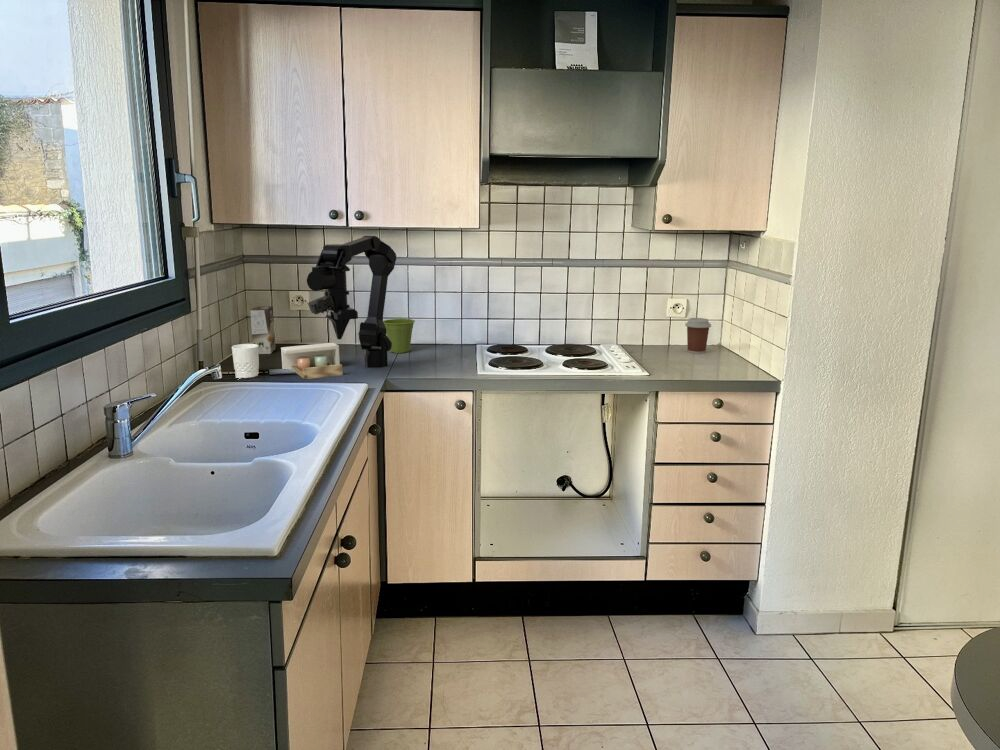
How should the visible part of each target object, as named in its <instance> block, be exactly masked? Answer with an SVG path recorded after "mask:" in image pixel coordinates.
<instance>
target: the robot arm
mask: <svg viewBox="0 0 1000 750" xmlns="http://www.w3.org/2000/svg"><path fill="white" fill-rule="evenodd" d="M322 248H323V249H322V250H321V252H320V254H319V257H318V259H317V262H316V265H315V266H311V271H310V272H309V273H308V275H307V278H306V283H307V286H308V288H309V289H310V290H311V291H312V292H313V291H314V292H319V291H324V290H325V291H324V292H323V293H324V294H323V295H324V296H321V297H318V298H316V299H313V300H311V301H309V302H307V305H308V307H309V309H310V311H311V312H310V313H311V314H314V315H319V314H320V313H321V314H324V313H325V312H327V315H325V317H326V318H327V319H328V320H329V321H331V324H332V327H333V331H334V334H335V337H336V339H337V340H342V338H343V336H344V335H345V332H346V329H347V328H348V327H347V326H348V325H349V322H350V320H356V319H357V320H358V319H359V313H358V311H357V310H356V309H355V308H352V307H350V304H348V295H350V291H349V290H348V287H347V272H350V271H351V268H350V267H349V266H348V265H346V264H348V263H349V262H351V261H352V259H353V258H354V257H355V256H358V255H361V254H363V253H364V255H365V257H366V258H367V259H368V266H369V269H370V271H371V274H372V277H371V285H370V293H369V301H368V308H367V309H368V310H367V315H366V316H367V317H366V319H365V320H364V321H363V322H360V323H359V329H358V333H357V334H358V340H359V345H360V348H361V350H363V351H365V354H364V366H365V368H369V369H373V368H375V369H377V368H379V369H380V368H385V367H388V368H390V366H389V365H388V361H389V360H388V352H390V350H391V346H392V343H391V341H390V340H389V338H388V337H387V334H386V327H385V325H384V322H383V321H384V312H385V311H384V310H385V304H386V297H387V296H386V294H387V287H388V280H389V279H388V278H389V276H390V275H391V273H392V272H393V271H394V269H395V266H396V260H397V254H396V252H395V250H394V249H392V246H390V245H389V244H387V243H385V242H384V241H383V240H381V239H380V238H379V237H378V236H376V235H363V236H362V237H360V238H356V239H355V240H351V241H347V242H344V243H341V244H335V243H334V244H333V243H332V244H325V245H324V246H323V247H322Z"/></svg>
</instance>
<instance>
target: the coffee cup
mask: <svg viewBox="0 0 1000 750" xmlns="http://www.w3.org/2000/svg"><path fill="white" fill-rule="evenodd" d="M684 325H685V327H686V334H687V335H686V336H687V338H686V339H687V342H686V343H687V344H686V345H687V352H688V353H689V354H690V353H691V354H705V353H706V350H707V344H708V338H709V331H710V328H711V327H712V323H710V322H709V319H708V318H704V317H690V318H688V321H687V322H685V324H684Z"/></svg>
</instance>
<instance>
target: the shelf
mask: <svg viewBox="0 0 1000 750" xmlns="http://www.w3.org/2000/svg"><path fill="white" fill-rule="evenodd" d="M280 350H281V353H280V354H281V367H282V369H290V370H292V369H291V366H295V365H297V358H299V357H310V364H314V363H315V361H314V356H317V355H326V356H327V362H329V363H330V364H332V365H338V364H341V363H340V346H339V344H336V343H334V342H327V343H326V342H325V343H323V342H322V343H314V344H304V345H303V344H302V345H294V346H292V345H291V346H283V347H280Z"/></svg>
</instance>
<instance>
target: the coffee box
mask: <svg viewBox="0 0 1000 750" xmlns="http://www.w3.org/2000/svg"><path fill="white" fill-rule="evenodd" d="M249 311H250V324H251V325H250V326H251V327H250V328H251V340H252V341H251V342H252V344H257V345H258V347H259V355H271V354H272V353H274V351H275V350H276V338H275V323H274V322H275V321H274V307H273V306H272V305H271V306H267V305H266V306H265V305H264V306H263V305H262V306H255V307H253V308H251V309H250V310H249Z"/></svg>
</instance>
